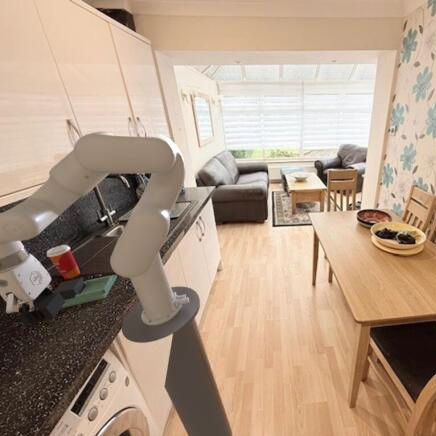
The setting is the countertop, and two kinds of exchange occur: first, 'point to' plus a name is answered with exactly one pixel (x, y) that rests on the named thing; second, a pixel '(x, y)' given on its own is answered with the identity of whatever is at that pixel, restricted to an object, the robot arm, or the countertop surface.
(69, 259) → the paper cup
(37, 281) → the robot arm
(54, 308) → the black pad
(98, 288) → the base board
